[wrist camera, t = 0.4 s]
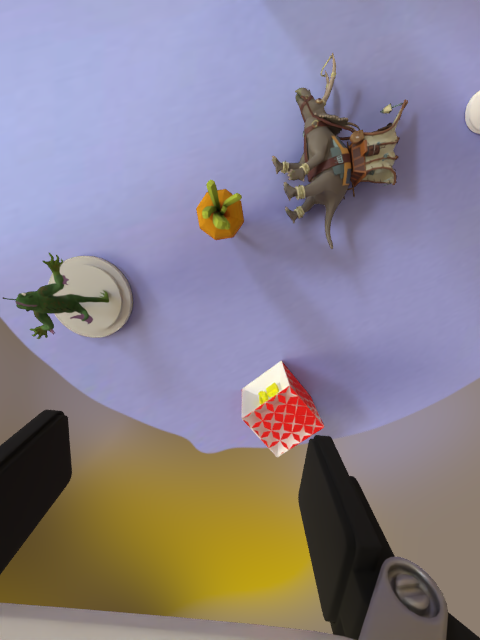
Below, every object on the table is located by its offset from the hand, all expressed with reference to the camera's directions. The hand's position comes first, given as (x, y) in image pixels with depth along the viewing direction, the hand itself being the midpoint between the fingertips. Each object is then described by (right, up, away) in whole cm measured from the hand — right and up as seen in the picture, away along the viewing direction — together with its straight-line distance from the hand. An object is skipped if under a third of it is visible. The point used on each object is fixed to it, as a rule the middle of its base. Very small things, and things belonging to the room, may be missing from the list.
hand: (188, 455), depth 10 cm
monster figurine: (-20, +9, +30) cm, 37 cm away
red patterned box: (+8, -7, +33) cm, 35 cm away
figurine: (+15, +26, +25) cm, 39 cm away
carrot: (0, +18, +27) cm, 33 cm away
